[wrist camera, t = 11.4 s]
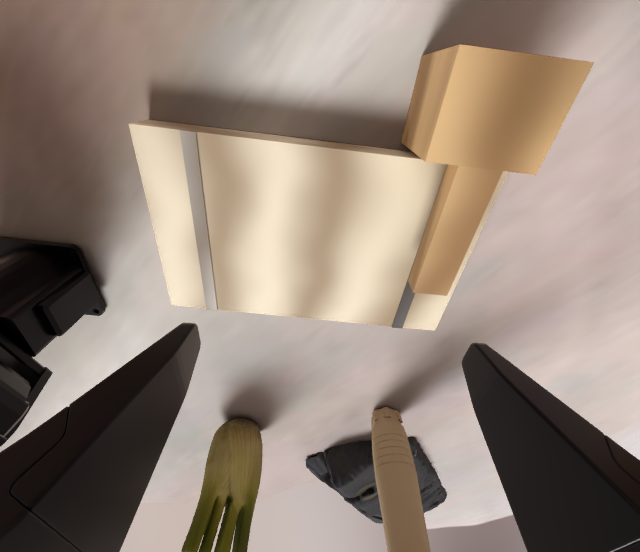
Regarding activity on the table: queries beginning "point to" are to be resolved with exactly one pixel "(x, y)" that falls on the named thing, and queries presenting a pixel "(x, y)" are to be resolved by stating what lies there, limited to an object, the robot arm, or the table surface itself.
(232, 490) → the fennel bulb
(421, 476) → the dark slate chunk
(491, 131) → the marking gauge
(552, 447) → the robot arm
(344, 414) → the table surface
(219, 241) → the ash plank
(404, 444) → the handle
